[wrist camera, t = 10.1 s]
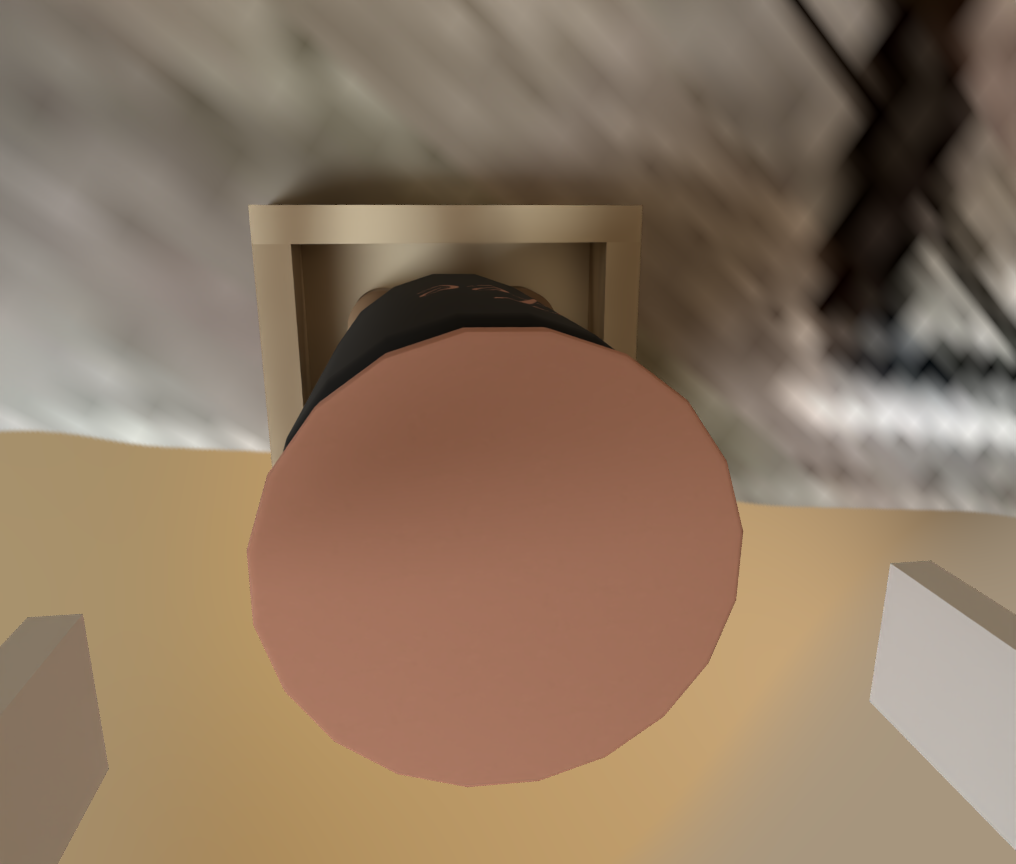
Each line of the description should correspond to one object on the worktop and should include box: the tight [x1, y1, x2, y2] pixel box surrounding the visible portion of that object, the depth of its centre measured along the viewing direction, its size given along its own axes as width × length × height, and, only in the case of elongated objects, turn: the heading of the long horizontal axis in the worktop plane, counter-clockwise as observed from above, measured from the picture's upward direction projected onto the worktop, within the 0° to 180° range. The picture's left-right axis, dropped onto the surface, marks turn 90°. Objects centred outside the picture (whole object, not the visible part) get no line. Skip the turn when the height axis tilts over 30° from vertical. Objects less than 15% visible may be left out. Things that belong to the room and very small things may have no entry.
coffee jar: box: [247, 274, 743, 787], centre depth 24 cm, size 11×11×18 cm
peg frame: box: [248, 205, 643, 467], centre depth 34 cm, size 16×16×4 cm
